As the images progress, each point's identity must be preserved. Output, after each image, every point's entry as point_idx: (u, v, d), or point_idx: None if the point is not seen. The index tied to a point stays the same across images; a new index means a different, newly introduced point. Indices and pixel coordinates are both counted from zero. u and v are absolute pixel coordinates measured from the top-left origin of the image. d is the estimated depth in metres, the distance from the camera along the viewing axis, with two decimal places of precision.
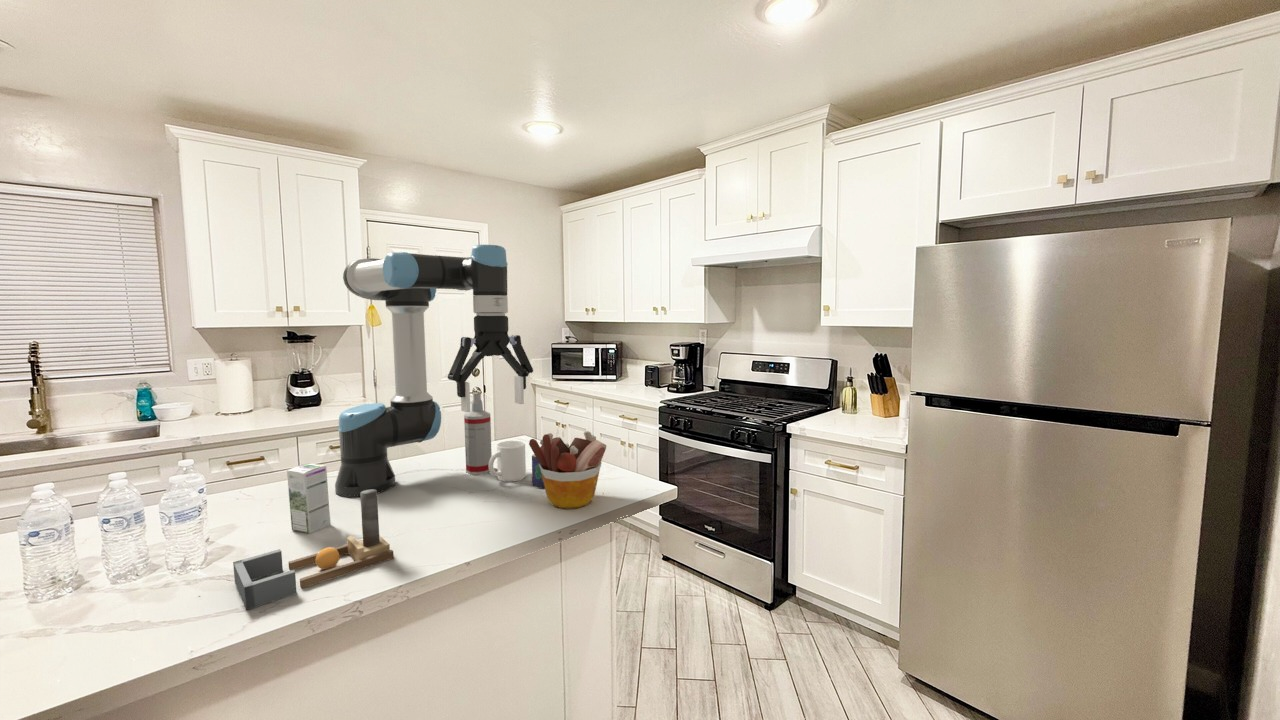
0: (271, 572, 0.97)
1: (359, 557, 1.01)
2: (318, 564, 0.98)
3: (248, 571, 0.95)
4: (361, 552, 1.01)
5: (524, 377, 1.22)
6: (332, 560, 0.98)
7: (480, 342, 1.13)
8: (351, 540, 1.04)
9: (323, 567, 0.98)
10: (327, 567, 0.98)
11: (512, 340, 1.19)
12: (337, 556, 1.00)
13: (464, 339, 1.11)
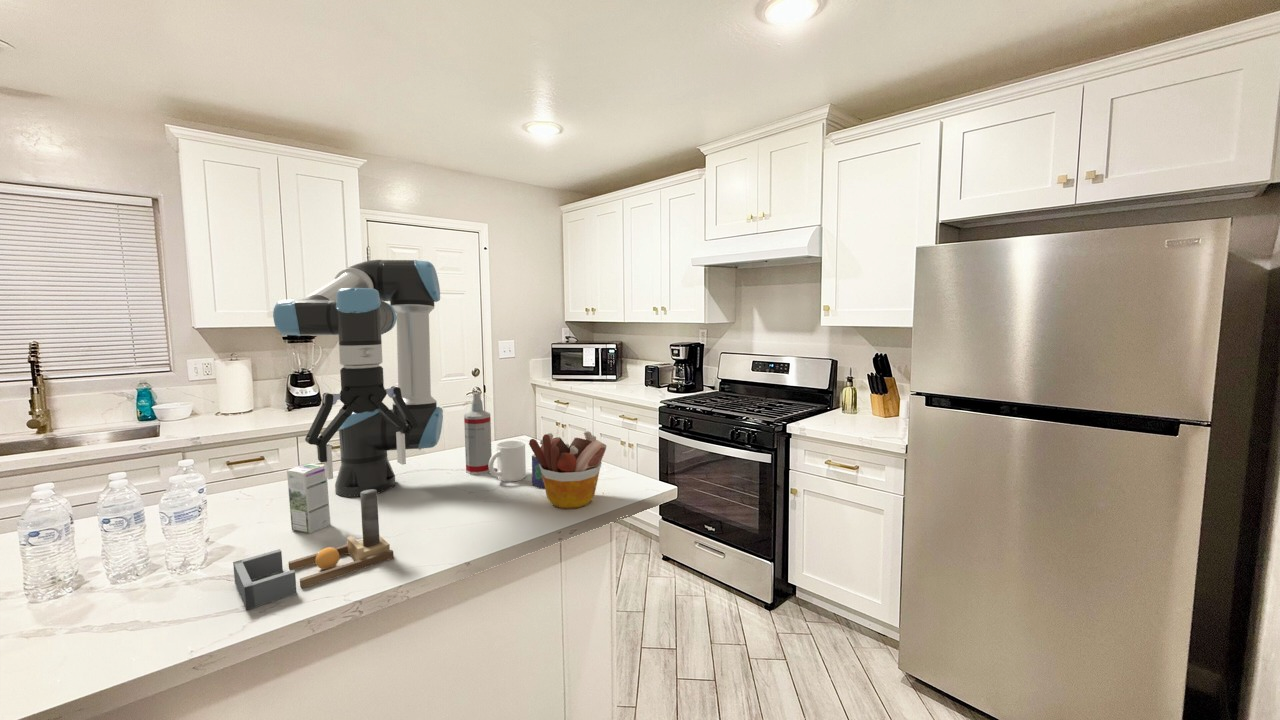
0: (271, 572, 0.97)
1: (359, 557, 1.01)
2: (318, 564, 0.98)
3: (248, 571, 0.95)
4: (361, 552, 1.01)
5: (407, 433, 1.08)
6: (332, 560, 0.98)
7: (346, 398, 0.99)
8: (351, 540, 1.04)
9: (323, 567, 0.98)
10: (327, 567, 0.98)
11: (390, 393, 1.05)
12: (337, 556, 1.00)
13: (325, 396, 0.97)
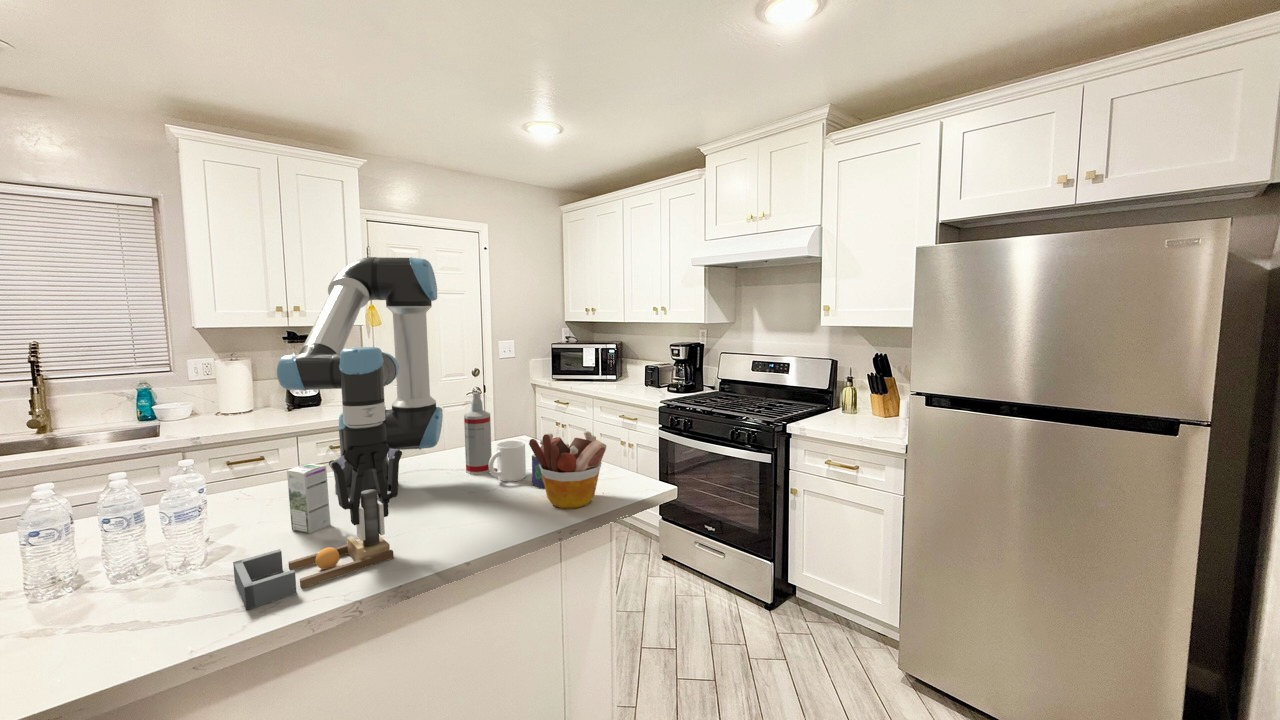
0: (271, 572, 0.97)
1: (359, 557, 1.01)
2: (318, 564, 0.98)
3: (248, 571, 0.95)
4: (361, 552, 1.01)
5: None
6: (332, 560, 0.98)
7: (351, 458, 1.00)
8: (351, 540, 1.04)
9: (323, 567, 0.98)
10: (327, 567, 0.98)
11: (391, 453, 1.06)
12: (337, 556, 1.00)
13: (331, 466, 0.99)
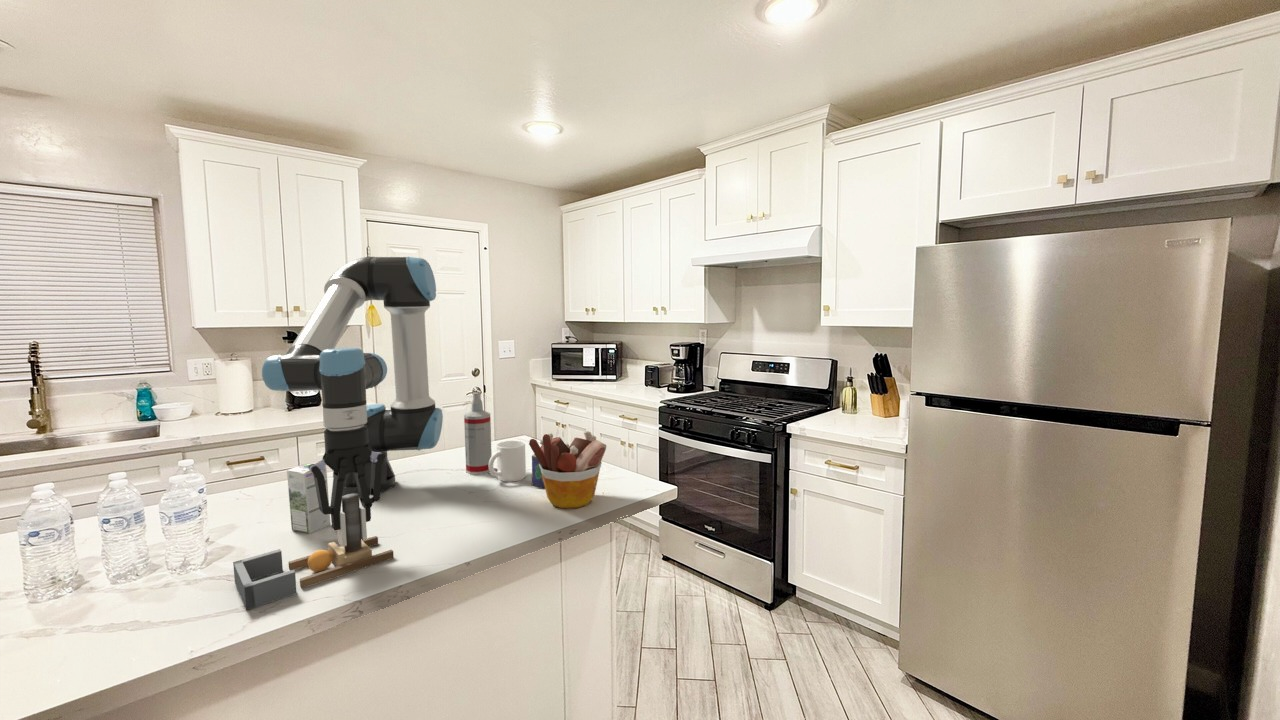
0: (271, 572, 0.97)
1: (340, 563, 0.98)
2: (314, 570, 0.97)
3: (248, 571, 0.95)
4: (342, 558, 0.98)
5: (368, 507, 1.04)
6: (323, 562, 0.97)
7: (331, 461, 0.98)
8: (332, 545, 1.02)
9: (320, 570, 0.98)
10: (324, 568, 0.98)
11: (374, 457, 1.04)
12: (326, 555, 0.98)
13: (311, 470, 0.96)
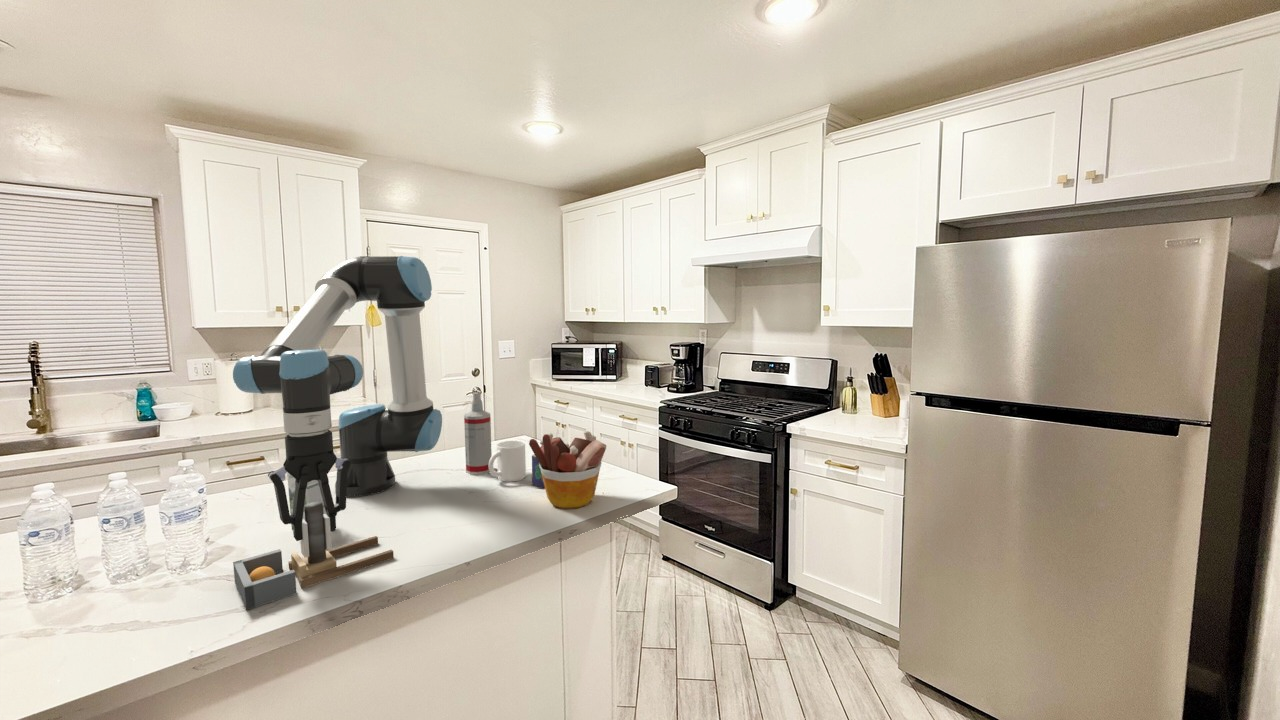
0: None
1: (301, 575, 0.94)
2: (254, 575, 0.91)
3: (248, 571, 0.95)
4: (303, 570, 0.94)
5: (333, 516, 0.99)
6: None
7: (292, 469, 0.93)
8: (295, 556, 0.97)
9: (253, 581, 0.90)
10: None
11: (339, 463, 1.00)
12: None
13: (270, 478, 0.92)
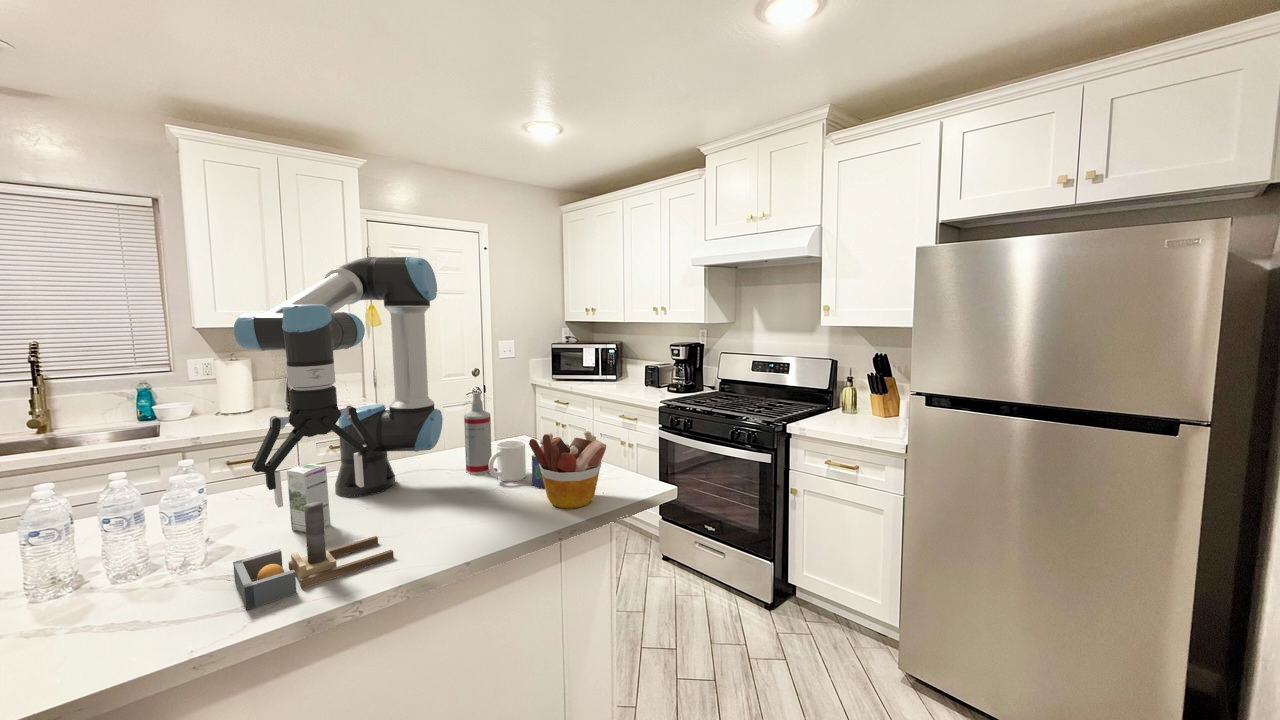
0: None
1: (301, 575, 0.94)
2: (270, 567, 0.92)
3: (248, 571, 0.95)
4: (303, 570, 0.94)
5: (365, 455, 1.03)
6: None
7: (295, 422, 0.93)
8: (294, 556, 0.97)
9: (266, 573, 0.92)
10: (265, 577, 0.91)
11: (345, 413, 1.00)
12: None
13: (272, 420, 0.91)
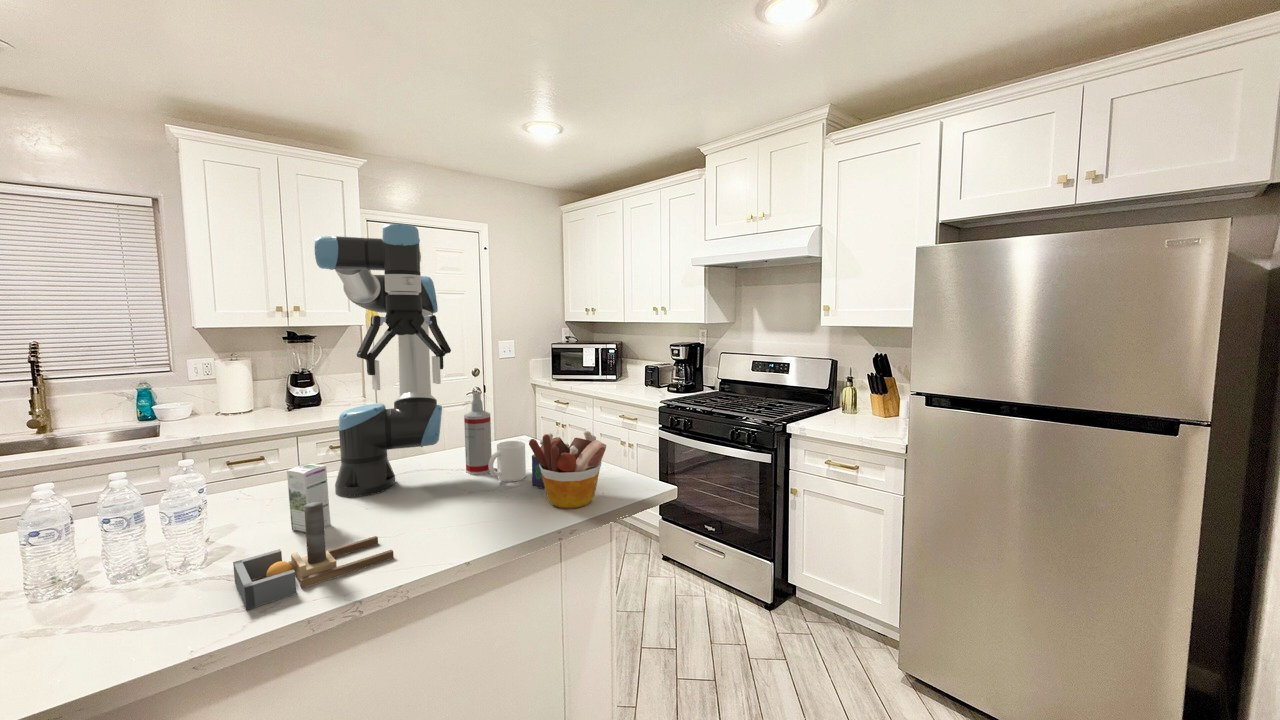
0: None
1: (301, 575, 0.94)
2: (287, 565, 0.94)
3: (248, 571, 0.95)
4: (303, 570, 0.94)
5: (441, 357, 1.23)
6: None
7: (391, 321, 1.14)
8: (294, 556, 0.97)
9: (281, 567, 0.93)
10: (278, 570, 0.93)
11: (427, 320, 1.20)
12: None
13: (373, 317, 1.11)
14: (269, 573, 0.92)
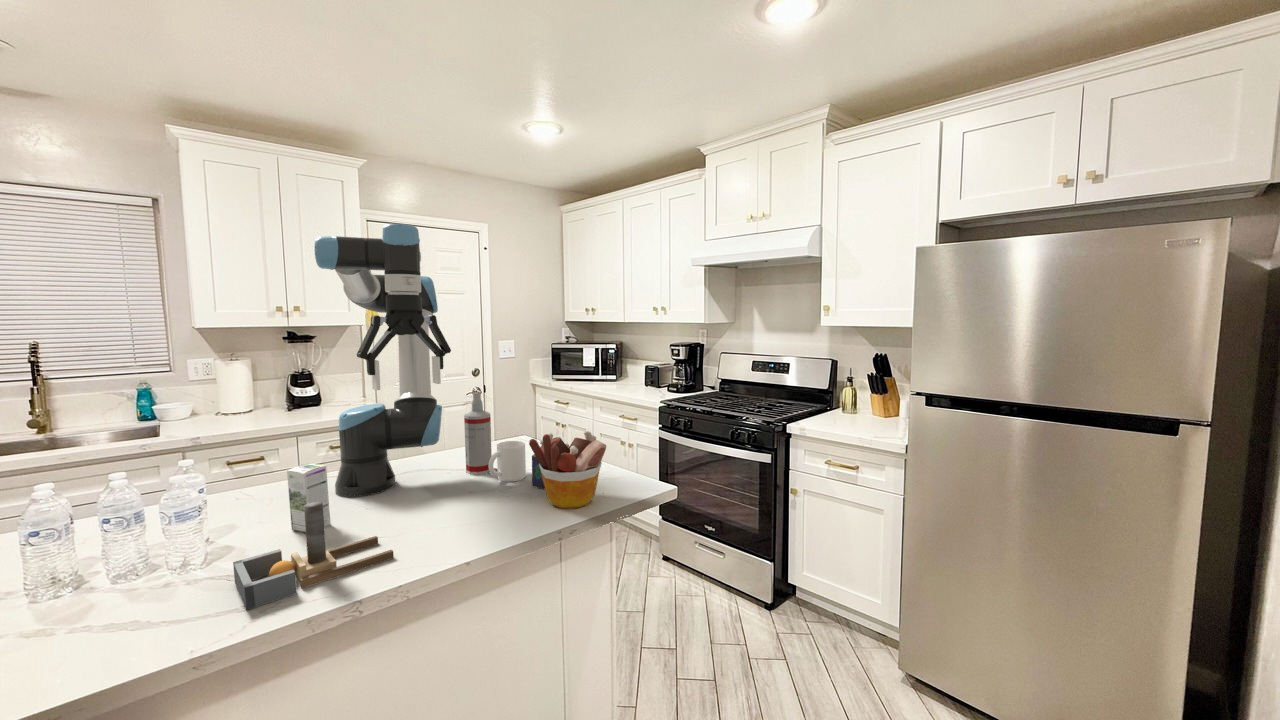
0: None
1: (301, 575, 0.94)
2: (291, 565, 0.95)
3: (248, 571, 0.95)
4: (303, 570, 0.94)
5: (441, 357, 1.23)
6: None
7: (391, 321, 1.14)
8: (294, 556, 0.97)
9: (286, 566, 0.94)
10: (282, 568, 0.93)
11: (427, 320, 1.20)
12: None
13: (373, 317, 1.11)
14: (273, 570, 0.93)
